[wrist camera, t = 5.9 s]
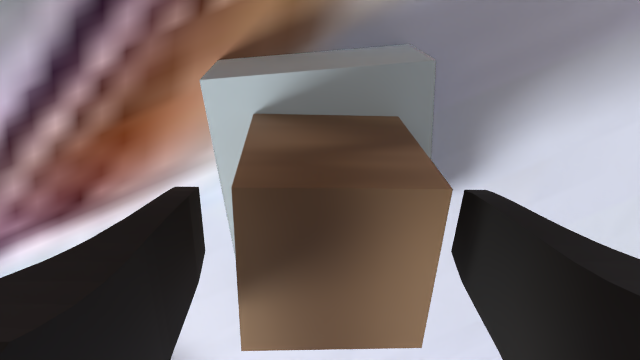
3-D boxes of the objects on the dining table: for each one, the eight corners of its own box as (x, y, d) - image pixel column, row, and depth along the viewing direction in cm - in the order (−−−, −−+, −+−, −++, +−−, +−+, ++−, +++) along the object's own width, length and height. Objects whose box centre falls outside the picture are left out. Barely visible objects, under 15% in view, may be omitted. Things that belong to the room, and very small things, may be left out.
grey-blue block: (407, 42, 15) (435, 60, 12) (404, 205, 19) (426, 252, 15) (219, 58, 15) (199, 80, 12) (247, 219, 19) (237, 269, 15)
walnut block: (398, 116, 13) (452, 189, 9) (383, 237, 15) (421, 347, 11) (253, 113, 13) (231, 187, 8) (257, 236, 15) (241, 351, 10)
